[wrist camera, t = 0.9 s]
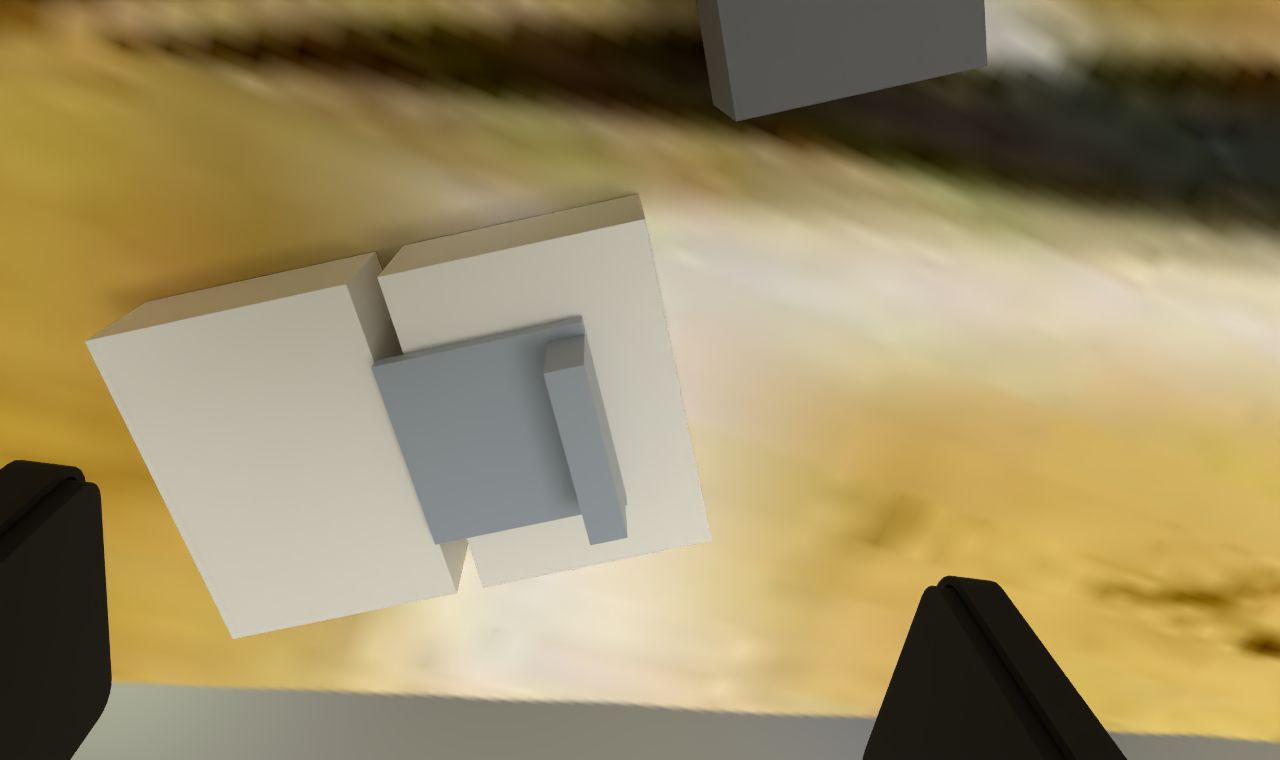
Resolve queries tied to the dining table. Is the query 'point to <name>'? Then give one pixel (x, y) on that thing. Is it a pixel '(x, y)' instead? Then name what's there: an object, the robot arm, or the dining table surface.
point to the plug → (831, 48)
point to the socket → (359, 423)
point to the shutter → (506, 433)
